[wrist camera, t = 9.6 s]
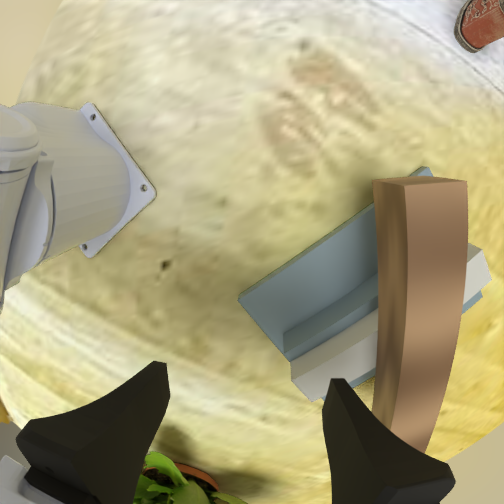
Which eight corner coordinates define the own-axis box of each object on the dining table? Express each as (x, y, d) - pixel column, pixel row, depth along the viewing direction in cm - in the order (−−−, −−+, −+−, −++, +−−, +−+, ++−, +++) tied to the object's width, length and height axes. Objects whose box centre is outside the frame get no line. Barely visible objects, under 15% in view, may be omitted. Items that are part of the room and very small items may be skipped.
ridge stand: (324, 395, 24) (332, 441, 19) (239, 294, 22) (228, 334, 16) (476, 292, 20) (512, 320, 15) (421, 166, 18) (464, 169, 13)
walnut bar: (405, 427, 18) (419, 464, 14) (368, 436, 18) (378, 476, 14) (423, 175, 13) (466, 181, 9) (371, 180, 14) (404, 186, 10)
